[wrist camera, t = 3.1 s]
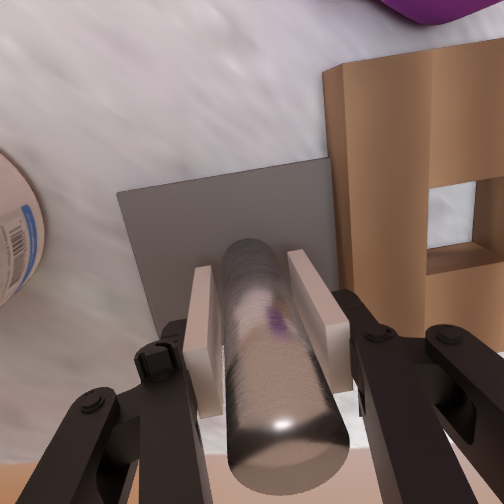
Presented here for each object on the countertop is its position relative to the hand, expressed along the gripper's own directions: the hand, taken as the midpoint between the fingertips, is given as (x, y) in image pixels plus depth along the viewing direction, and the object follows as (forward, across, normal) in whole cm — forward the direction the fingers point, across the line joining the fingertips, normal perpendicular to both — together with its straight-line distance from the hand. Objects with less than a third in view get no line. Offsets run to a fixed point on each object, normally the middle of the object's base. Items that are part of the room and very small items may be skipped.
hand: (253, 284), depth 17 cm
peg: (+3, 0, 0) cm, 3 cm away
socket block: (+3, +11, +1) cm, 11 cm away
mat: (+3, 0, 0) cm, 3 cm away
